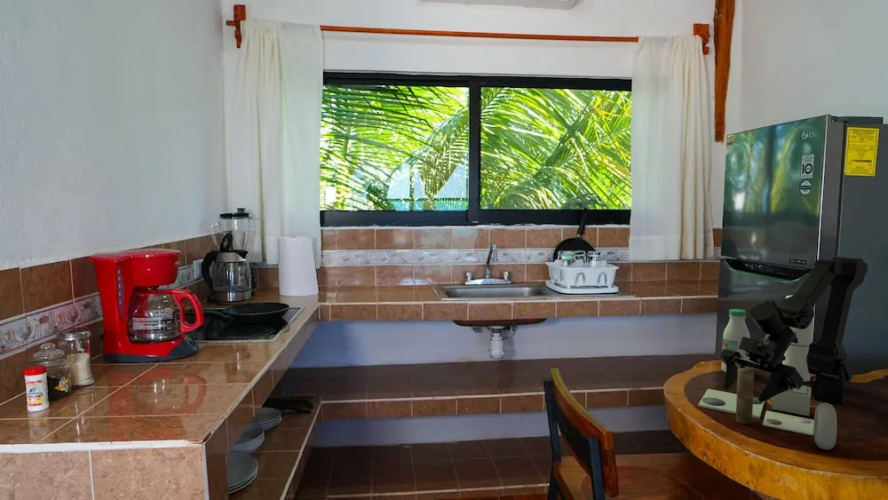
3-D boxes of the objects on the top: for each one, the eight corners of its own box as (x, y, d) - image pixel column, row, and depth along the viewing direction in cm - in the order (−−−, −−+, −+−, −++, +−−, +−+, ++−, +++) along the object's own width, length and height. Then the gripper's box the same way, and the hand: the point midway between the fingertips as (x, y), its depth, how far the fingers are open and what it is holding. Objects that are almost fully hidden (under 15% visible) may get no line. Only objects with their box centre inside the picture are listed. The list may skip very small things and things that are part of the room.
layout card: (813, 421, 128) (814, 419, 128) (813, 435, 120) (813, 434, 120) (766, 411, 134) (766, 410, 134) (762, 425, 126) (762, 423, 126)
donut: (836, 459, 109) (839, 413, 108) (816, 455, 111) (819, 410, 110) (830, 440, 118) (833, 397, 117) (812, 437, 119) (814, 395, 118)
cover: (809, 406, 138) (811, 386, 137) (809, 416, 131) (810, 395, 131) (774, 399, 142) (775, 380, 142) (771, 408, 136) (772, 388, 135)
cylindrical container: (807, 375, 162) (811, 296, 160) (812, 382, 155) (816, 300, 153) (780, 372, 165) (784, 294, 163) (784, 379, 158) (788, 298, 156)
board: (764, 401, 141) (764, 398, 141) (759, 418, 130) (759, 415, 130) (707, 390, 149) (707, 388, 149) (698, 406, 138) (698, 403, 138)
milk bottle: (742, 368, 170) (744, 307, 168) (753, 375, 162) (756, 312, 160) (717, 367, 170) (719, 307, 169) (727, 375, 163) (730, 312, 161)
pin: (752, 420, 129) (755, 369, 128) (751, 425, 126) (753, 373, 125) (736, 417, 131) (738, 366, 130) (734, 422, 128) (736, 370, 127)
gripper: (725, 318, 137) (693, 364, 133) (798, 333, 120) (764, 387, 116) (744, 344, 140) (714, 389, 137) (817, 363, 123) (785, 415, 120)
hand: (741, 394), depth 127 cm, fingers open, 9 cm apart
